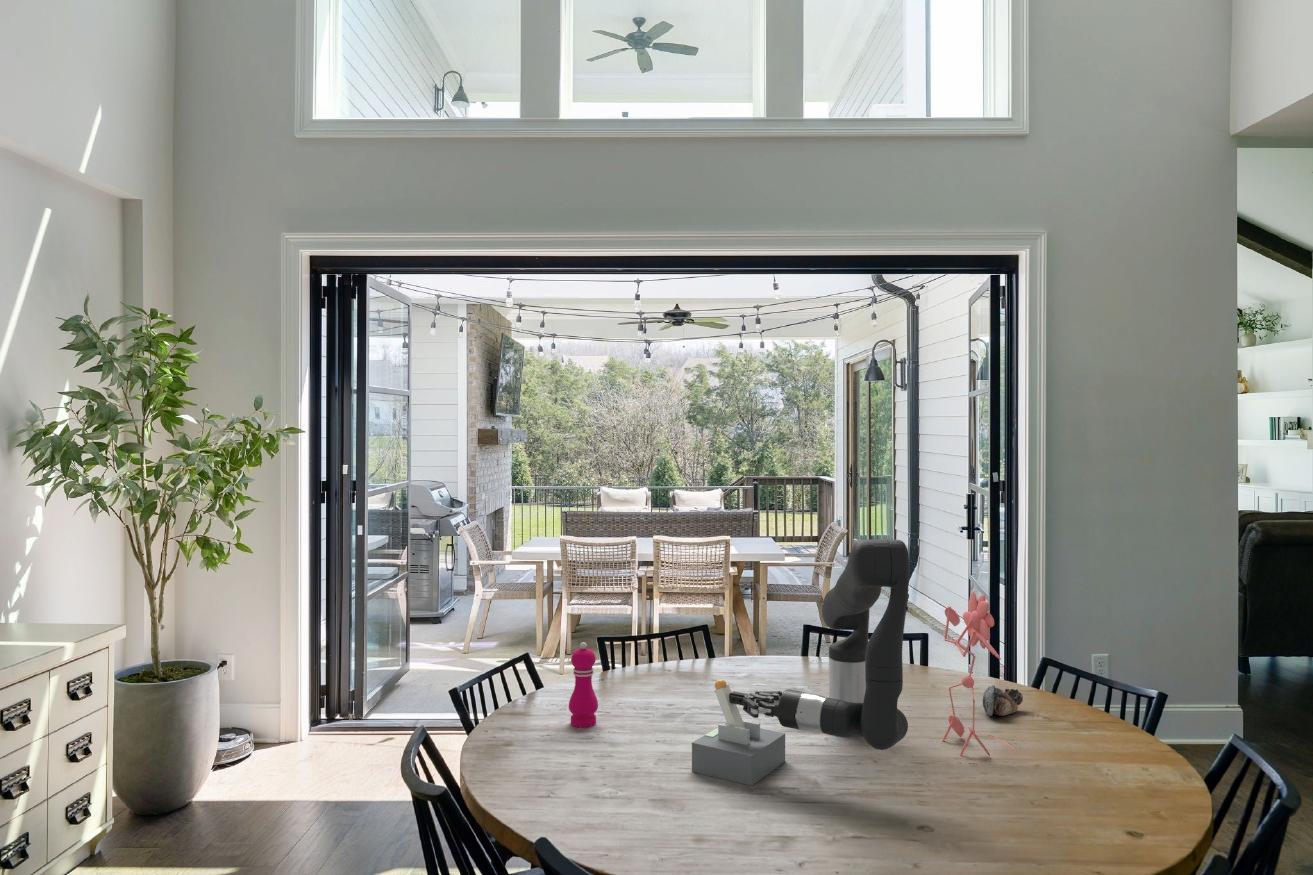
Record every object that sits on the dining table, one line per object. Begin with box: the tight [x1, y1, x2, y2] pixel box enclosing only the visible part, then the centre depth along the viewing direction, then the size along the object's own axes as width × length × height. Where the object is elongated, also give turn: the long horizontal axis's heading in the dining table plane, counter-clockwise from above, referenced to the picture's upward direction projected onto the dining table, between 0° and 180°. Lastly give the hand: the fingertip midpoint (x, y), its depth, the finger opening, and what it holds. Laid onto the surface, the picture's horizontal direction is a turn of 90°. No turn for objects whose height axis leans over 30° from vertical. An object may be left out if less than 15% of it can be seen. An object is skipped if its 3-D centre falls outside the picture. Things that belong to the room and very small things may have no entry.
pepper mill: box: [568, 641, 599, 729], centre depth 210 cm, size 7×7×20 cm
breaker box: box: [691, 719, 786, 787], centre depth 182 cm, size 16×14×9 cm
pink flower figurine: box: [941, 591, 1015, 765], centre depth 194 cm, size 15×26×35 cm, turn 5°
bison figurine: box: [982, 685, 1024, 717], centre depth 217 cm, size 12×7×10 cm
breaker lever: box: [714, 678, 746, 729], centre depth 184 cm, size 3×3×13 cm
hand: (730, 696), depth 184 cm, fingers closed
